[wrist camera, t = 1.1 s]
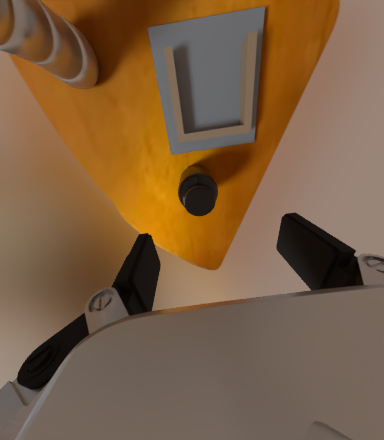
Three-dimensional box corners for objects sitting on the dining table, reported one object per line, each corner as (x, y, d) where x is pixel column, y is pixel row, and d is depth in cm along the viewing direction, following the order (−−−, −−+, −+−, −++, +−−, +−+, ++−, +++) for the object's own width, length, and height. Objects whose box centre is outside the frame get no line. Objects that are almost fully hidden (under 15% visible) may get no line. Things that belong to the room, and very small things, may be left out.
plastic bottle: (70, 16, 19) (-902, -1019, 2) (113, 70, 22) (-138, -164, 5) (47, 58, 21) (-565, -294, 4) (89, 103, 24) (-154, 19, 7)
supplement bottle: (205, 159, 29) (217, 172, 19) (214, 190, 33) (227, 214, 22) (174, 171, 30) (169, 189, 20) (185, 199, 33) (186, 227, 23)
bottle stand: (148, 32, 20) (142, 13, 17) (261, 12, 20) (275, -11, 17) (171, 154, 28) (170, 156, 25) (252, 141, 28) (260, 142, 25)
